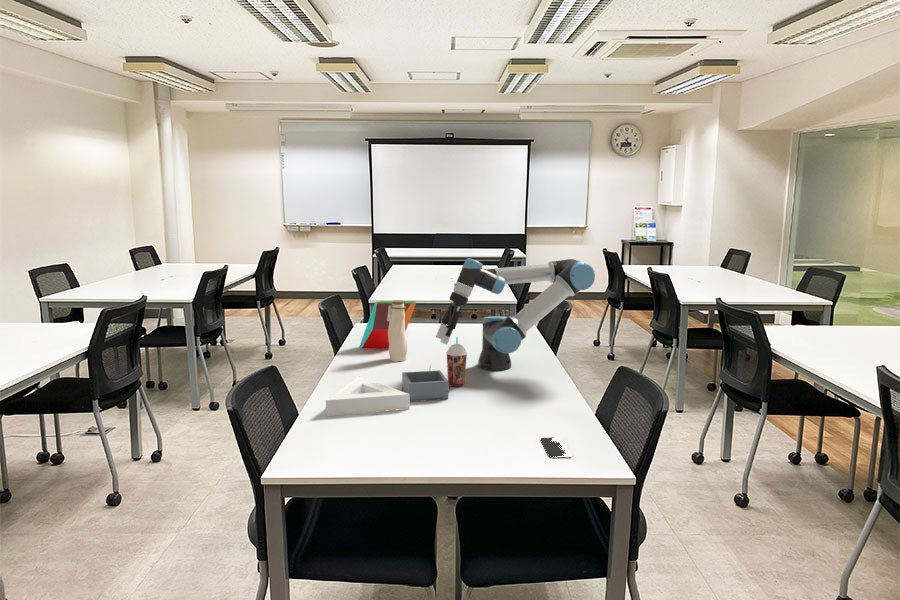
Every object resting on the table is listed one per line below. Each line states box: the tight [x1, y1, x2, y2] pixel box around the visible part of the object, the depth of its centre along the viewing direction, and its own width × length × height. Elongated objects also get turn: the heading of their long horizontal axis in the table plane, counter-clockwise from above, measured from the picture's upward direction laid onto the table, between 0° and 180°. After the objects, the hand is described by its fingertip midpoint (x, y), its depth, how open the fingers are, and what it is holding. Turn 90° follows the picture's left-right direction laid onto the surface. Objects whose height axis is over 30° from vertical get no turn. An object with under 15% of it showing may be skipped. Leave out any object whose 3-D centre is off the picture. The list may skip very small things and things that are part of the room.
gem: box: [358, 300, 417, 349], centre depth 319 cm, size 15×29×24 cm, turn 93°
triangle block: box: [325, 376, 410, 417], centre depth 238 cm, size 30×26×6 cm
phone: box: [540, 437, 566, 457], centre depth 197 cm, size 7×1×15 cm
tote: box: [401, 369, 450, 402], centre depth 247 cm, size 15×15×7 cm
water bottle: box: [387, 299, 408, 362], centre depth 296 cm, size 10×9×28 cm
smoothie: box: [446, 336, 468, 388], centre depth 258 cm, size 8×8×20 cm
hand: (441, 340), depth 266 cm, fingers open, 13 cm apart
